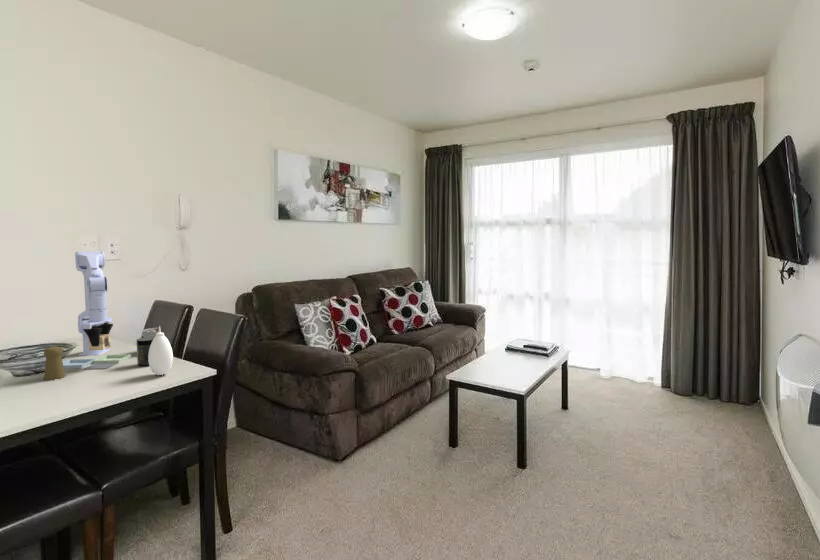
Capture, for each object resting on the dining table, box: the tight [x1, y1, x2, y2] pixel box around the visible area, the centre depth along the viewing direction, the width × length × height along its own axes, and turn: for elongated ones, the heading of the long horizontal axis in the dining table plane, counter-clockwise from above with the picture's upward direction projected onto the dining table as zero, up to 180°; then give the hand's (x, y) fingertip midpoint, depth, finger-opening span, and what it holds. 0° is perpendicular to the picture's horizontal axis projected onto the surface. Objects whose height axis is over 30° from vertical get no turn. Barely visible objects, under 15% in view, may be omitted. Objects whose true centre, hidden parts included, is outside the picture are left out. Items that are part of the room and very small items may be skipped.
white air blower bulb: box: [148, 325, 174, 376], centre depth 162 cm, size 8×8×18 cm
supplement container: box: [136, 337, 155, 368], centre depth 175 cm, size 7×7×10 cm
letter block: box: [88, 333, 111, 350], centre depth 171 cm, size 5×5×5 cm
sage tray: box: [92, 353, 132, 365], centre depth 181 cm, size 10×10×2 cm
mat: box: [83, 363, 118, 371], centre depth 172 cm, size 7×8×1 cm
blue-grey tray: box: [62, 358, 97, 370], centre depth 174 cm, size 10×10×2 cm
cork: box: [43, 346, 66, 381], centre depth 158 cm, size 6×6×11 cm
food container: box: [141, 327, 159, 338], centre depth 195 cm, size 12×6×10 cm, turn 25°
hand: (99, 344), depth 171 cm, fingers closed on letter block, 5 cm apart
